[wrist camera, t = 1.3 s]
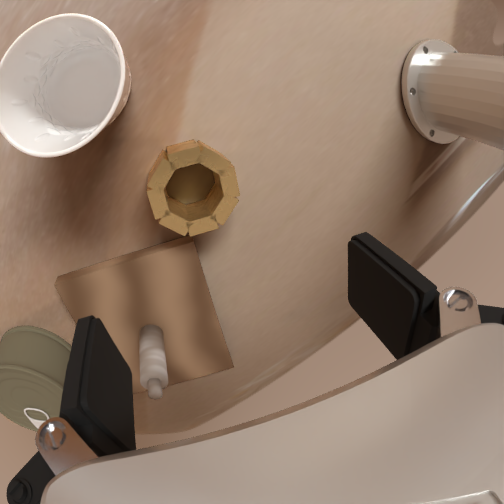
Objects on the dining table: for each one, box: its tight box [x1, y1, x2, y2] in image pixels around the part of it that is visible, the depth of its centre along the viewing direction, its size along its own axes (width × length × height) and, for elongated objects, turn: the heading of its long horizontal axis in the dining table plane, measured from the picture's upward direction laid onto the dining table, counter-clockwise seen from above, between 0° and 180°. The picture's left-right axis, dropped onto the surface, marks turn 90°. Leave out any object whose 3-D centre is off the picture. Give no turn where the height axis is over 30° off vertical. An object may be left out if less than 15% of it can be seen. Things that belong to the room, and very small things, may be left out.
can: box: [0, 326, 72, 431], centre depth 27 cm, size 12×12×7 cm
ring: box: [147, 139, 240, 237], centre depth 24 cm, size 7×7×4 cm
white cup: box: [0, 14, 131, 158], centre depth 16 cm, size 8×8×10 cm
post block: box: [54, 235, 234, 399], centre depth 28 cm, size 14×17×10 cm
